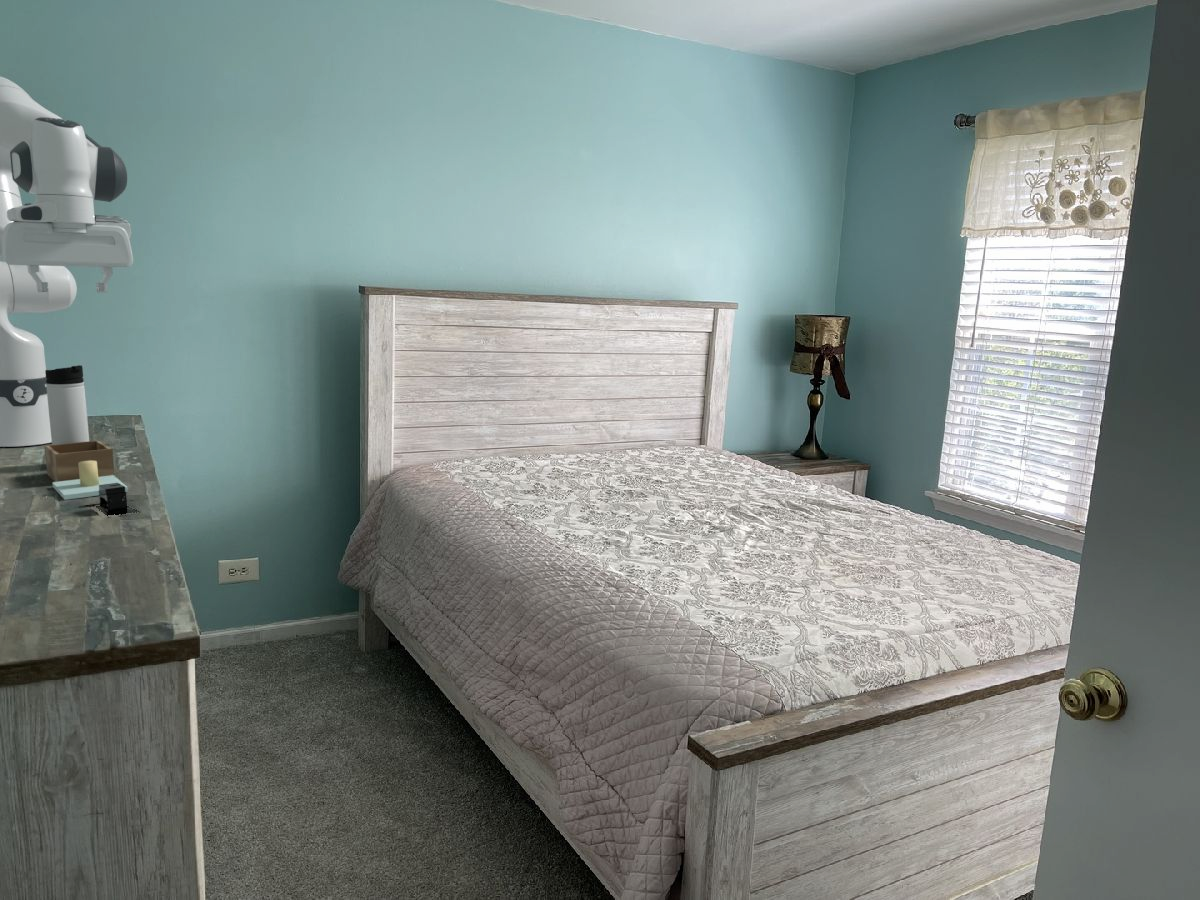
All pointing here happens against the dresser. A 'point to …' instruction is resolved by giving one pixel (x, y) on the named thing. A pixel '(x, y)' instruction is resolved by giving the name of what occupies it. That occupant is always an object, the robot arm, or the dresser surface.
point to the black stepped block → (113, 499)
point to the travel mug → (67, 405)
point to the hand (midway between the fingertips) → (73, 292)
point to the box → (77, 459)
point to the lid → (85, 482)
